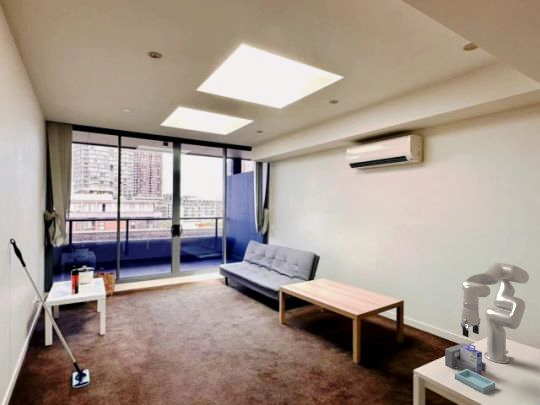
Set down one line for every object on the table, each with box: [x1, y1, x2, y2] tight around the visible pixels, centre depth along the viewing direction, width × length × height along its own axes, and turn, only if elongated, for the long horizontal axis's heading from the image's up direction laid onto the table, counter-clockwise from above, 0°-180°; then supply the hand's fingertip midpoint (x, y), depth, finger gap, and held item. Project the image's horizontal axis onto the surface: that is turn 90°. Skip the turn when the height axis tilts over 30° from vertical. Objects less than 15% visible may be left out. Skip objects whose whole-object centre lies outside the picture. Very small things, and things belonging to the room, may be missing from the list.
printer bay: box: [444, 342, 487, 373], centre depth 183 cm, size 18×15×10 cm
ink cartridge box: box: [460, 343, 483, 375], centre depth 181 cm, size 10×6×14 cm, turn 27°
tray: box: [454, 369, 496, 394], centre depth 168 cm, size 11×15×3 cm
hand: (470, 334), depth 181 cm, fingers open, 9 cm apart
